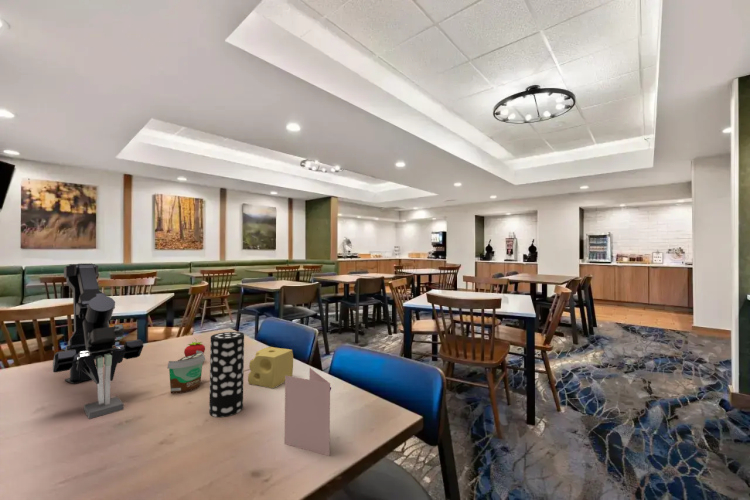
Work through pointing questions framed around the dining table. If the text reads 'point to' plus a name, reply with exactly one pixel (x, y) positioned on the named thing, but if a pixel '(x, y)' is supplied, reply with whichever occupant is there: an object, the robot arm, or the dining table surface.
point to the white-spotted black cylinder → (226, 374)
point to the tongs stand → (109, 403)
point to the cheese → (270, 367)
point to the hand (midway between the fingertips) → (105, 381)
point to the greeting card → (307, 413)
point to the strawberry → (194, 348)
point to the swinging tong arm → (100, 379)
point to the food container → (186, 373)
